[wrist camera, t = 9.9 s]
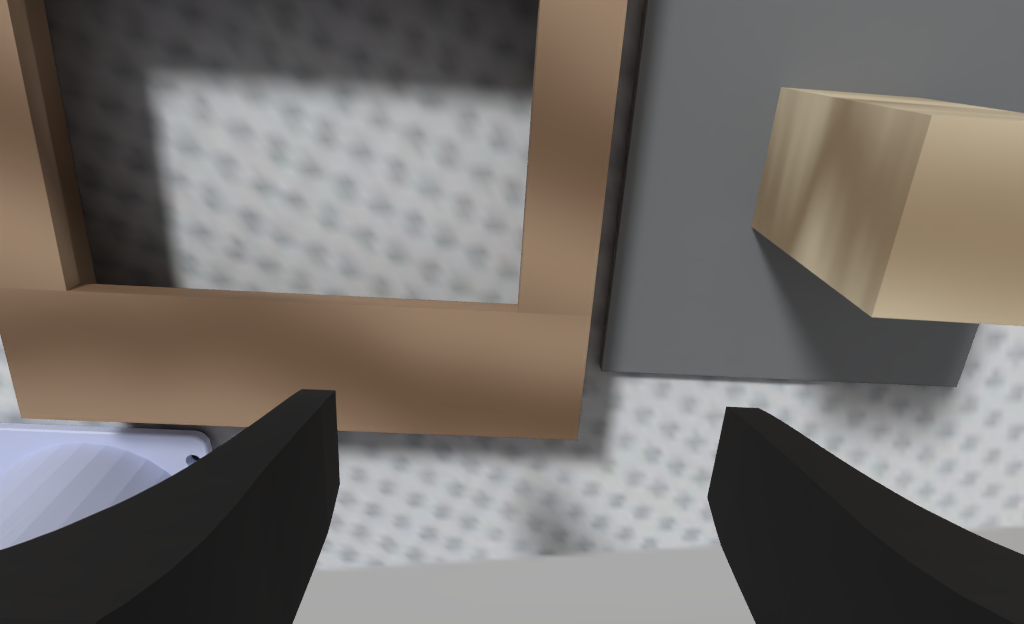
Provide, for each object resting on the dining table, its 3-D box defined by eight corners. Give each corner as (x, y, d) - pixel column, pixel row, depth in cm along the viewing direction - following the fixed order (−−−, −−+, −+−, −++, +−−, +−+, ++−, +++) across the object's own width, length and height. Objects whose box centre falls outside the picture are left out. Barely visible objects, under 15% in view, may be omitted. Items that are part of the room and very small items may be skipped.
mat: (949, 381, 23) (956, 386, 22) (599, 365, 22) (601, 370, 22) (1114, -93, 18) (1127, -95, 17) (660, -128, 17) (664, -131, 17)
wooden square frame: (567, 390, 23) (577, 440, 20) (81, 370, 22) (21, 418, 19) (626, -178, 17) (653, -221, 14) (-43, -232, 16) (-157, -288, 13)
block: (880, 235, 20) (1058, 327, 14) (751, 226, 20) (871, 317, 14) (919, 97, 19) (1141, 130, 12) (780, 87, 19) (931, 115, 12)
